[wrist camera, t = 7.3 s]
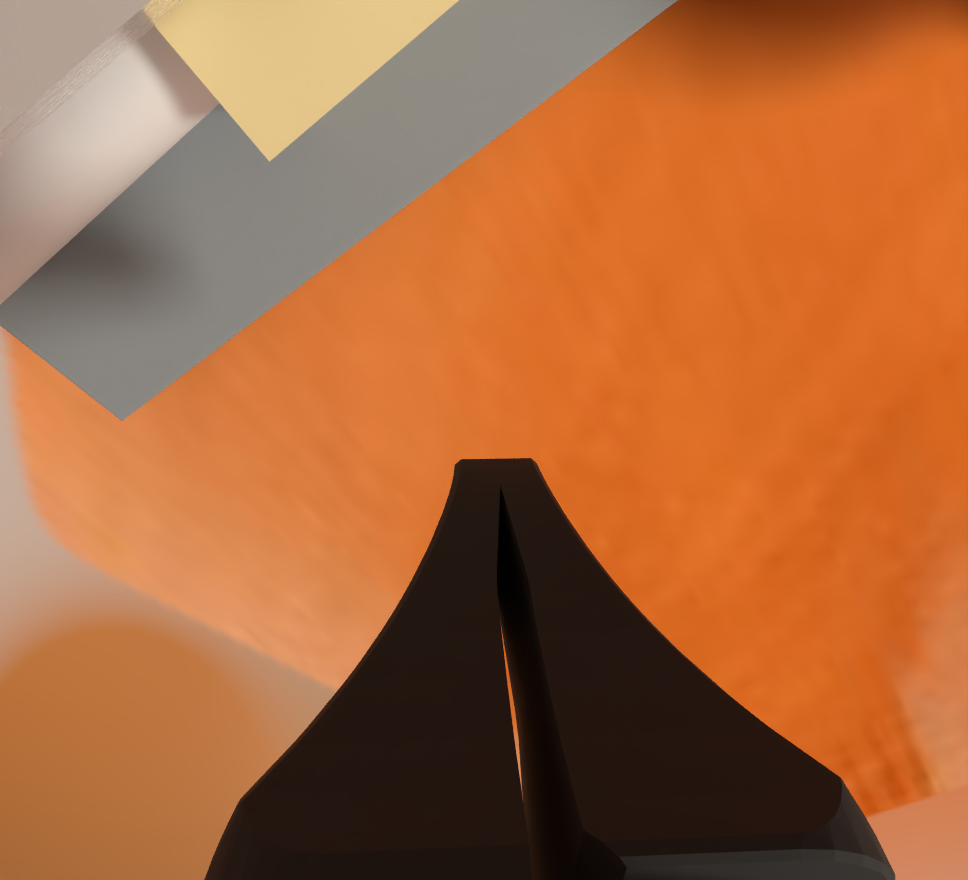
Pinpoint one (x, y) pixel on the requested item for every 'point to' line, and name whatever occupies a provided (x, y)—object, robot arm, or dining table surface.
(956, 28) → the dining table surface
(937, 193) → the dining table surface
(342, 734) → the robot arm
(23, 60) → the valve lever
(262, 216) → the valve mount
